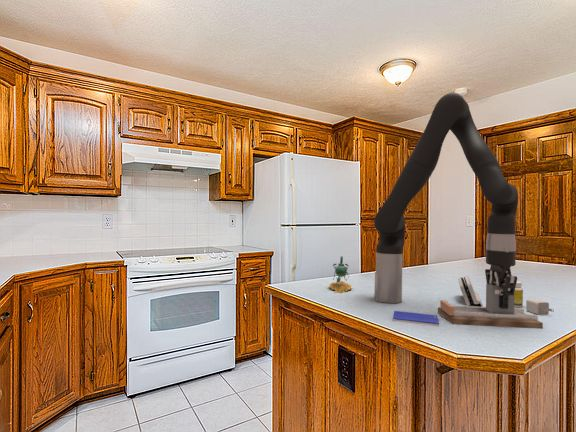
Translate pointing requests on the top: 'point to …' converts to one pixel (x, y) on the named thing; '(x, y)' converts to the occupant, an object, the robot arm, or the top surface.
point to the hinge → (469, 291)
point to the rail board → (487, 316)
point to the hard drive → (416, 318)
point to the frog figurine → (340, 272)
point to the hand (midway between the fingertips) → (499, 306)
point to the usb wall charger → (538, 307)
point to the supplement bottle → (518, 295)
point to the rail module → (497, 300)
